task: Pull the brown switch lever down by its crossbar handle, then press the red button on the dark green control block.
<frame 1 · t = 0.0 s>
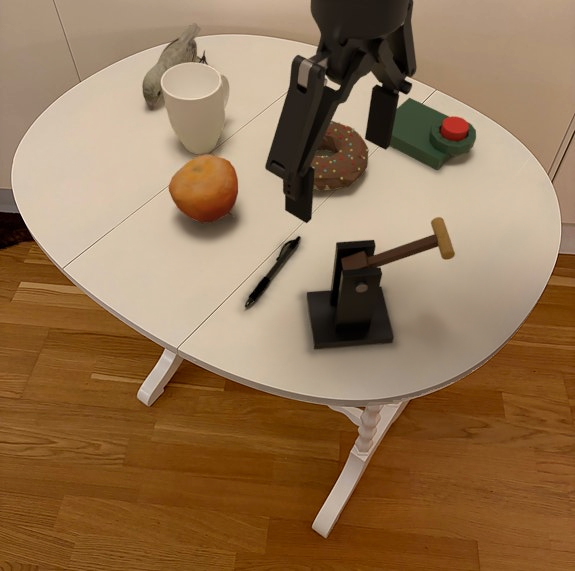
hand: (339, 177, 61), 22 cm above the table, tool pointing down, fingers open, 13 cm apart
decorative bird: (176, 85, 106), on the table
donut: (324, 168, 94), on the table
fruit: (208, 216, 88), on the table
button block: (421, 137, 98), on the table
button: (454, 129, 93), point 4 cm above the table, slide at 0.1 cm
mug: (205, 139, 98), on the table
pen: (272, 273, 82), on the table
lever: (396, 254, 67), point 13 cm above the table, hinge at 25.0°
switch bracket: (348, 319, 77), on the table
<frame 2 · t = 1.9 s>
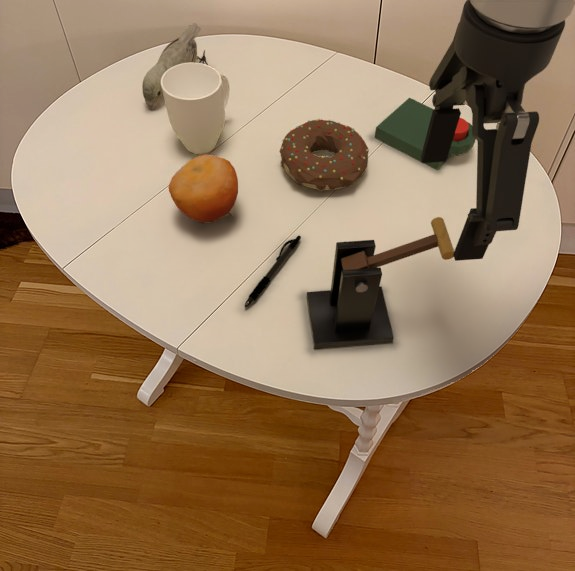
hand: (449, 205, 62), 20 cm above the table, tool pointing down, fingers open, 13 cm apart
nothing on the table moved.
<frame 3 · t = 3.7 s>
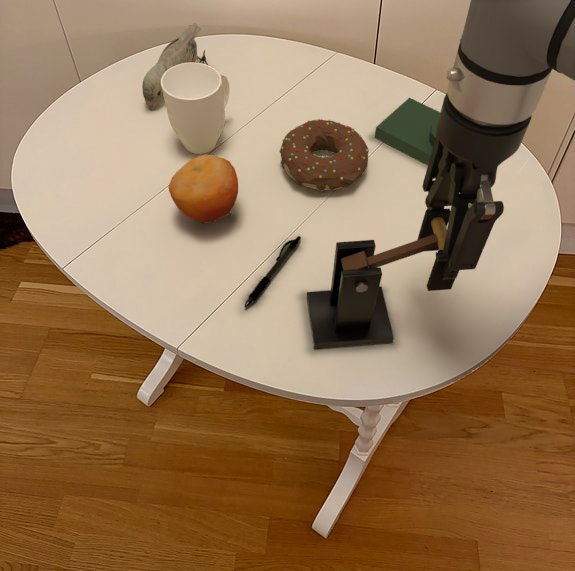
hand: (432, 267, 70), 10 cm above the table, tool pointing down, fingers closed on lever, 5 cm apart
lever: (396, 254, 67), point 13 cm above the table, hinge at 25.0°, touching gripper
everything else where it was.
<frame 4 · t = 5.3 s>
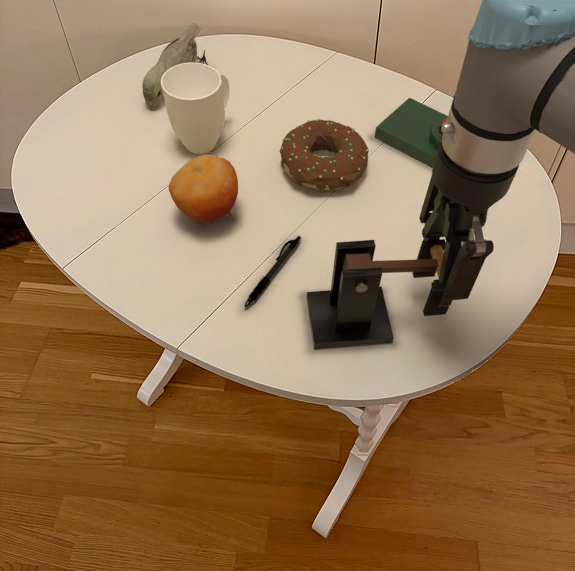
hand: (428, 293, 74), 5 cm above the table, tool pointing down, fingers closed on lever, 5 cm apart
lever: (396, 266, 69), point 11 cm above the table, hinge at -3.9°, touching gripper
everything else where it was.
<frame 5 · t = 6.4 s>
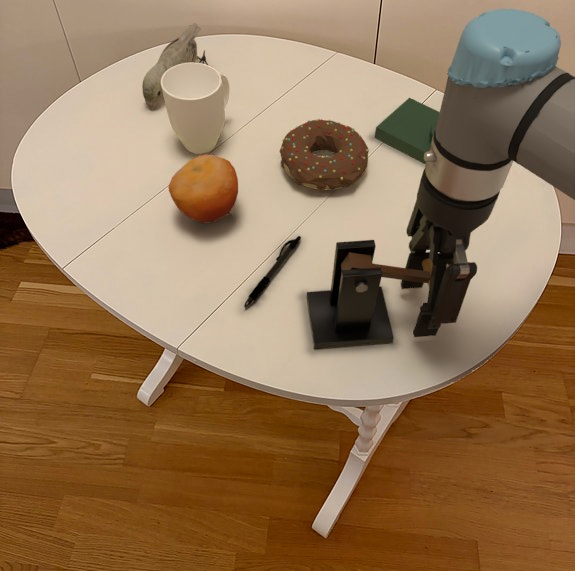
hand: (417, 309, 76), 2 cm above the table, tool pointing down, fingers open, 7 cm apart
lever: (393, 272, 70), point 10 cm above the table, hinge at -18.6°
everything else where it was.
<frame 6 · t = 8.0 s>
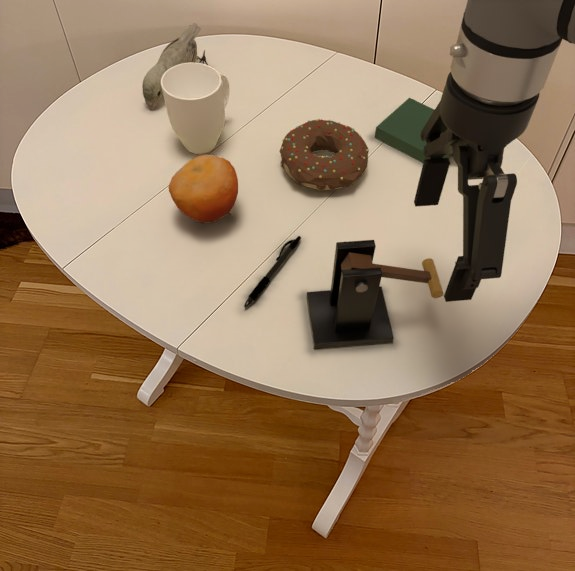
hand: (440, 248, 66), 14 cm above the table, tool pointing down, fingers open, 13 cm apart
nothing on the table moved.
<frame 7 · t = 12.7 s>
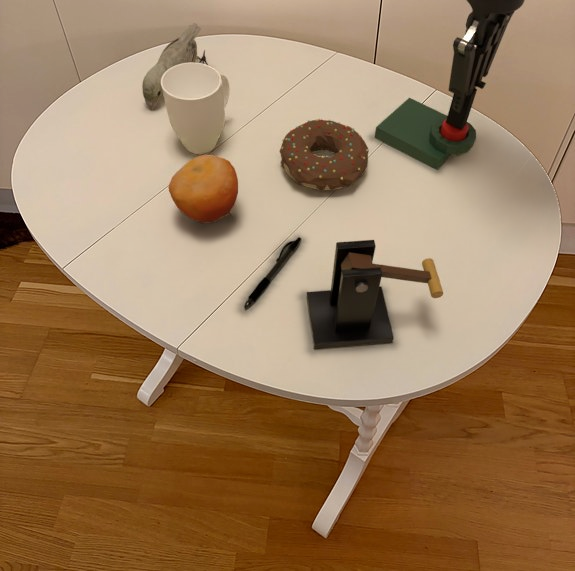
hand: (455, 123, 92), 5 cm above the table, tool pointing down, fingers closed
button: (454, 129, 93), point 4 cm above the table, slide at -0.1 cm, touching gripper
everything else where it was.
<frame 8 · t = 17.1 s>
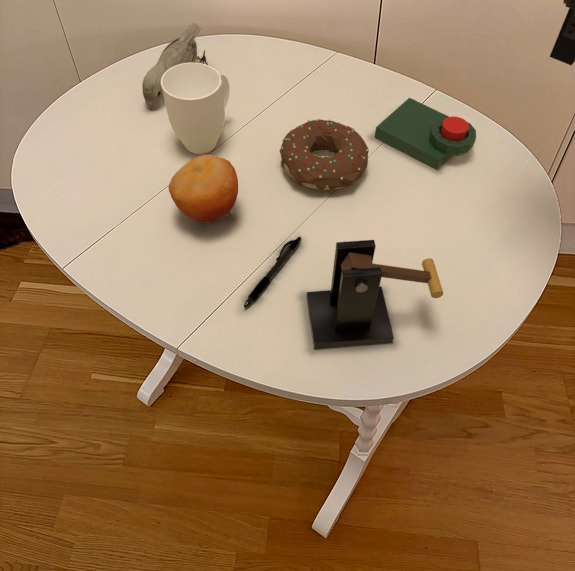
hand: (562, 58, 70), 24 cm above the table, tool pointing down, fingers closed
button: (454, 129, 93), point 4 cm above the table, slide at 0.1 cm
everything else where it was.
at the end: lever at -19° (first picture: +25°); button pushed in 1.0 cm at the most during the clip, back to where it started at the end; button slide at 0.1 cm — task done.
